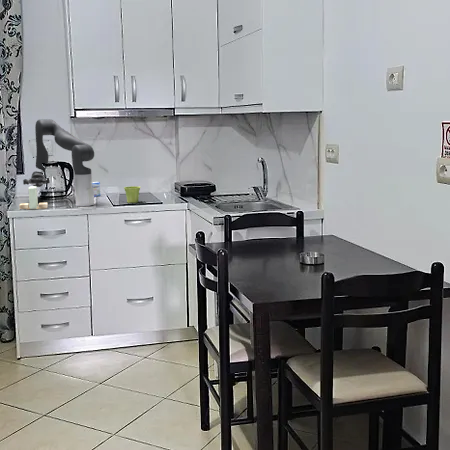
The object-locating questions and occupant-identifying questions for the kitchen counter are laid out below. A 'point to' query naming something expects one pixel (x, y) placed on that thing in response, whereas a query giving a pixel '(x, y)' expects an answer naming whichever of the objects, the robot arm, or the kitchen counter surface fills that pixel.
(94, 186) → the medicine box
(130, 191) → the plant pot
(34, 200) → the tall mint green pillar
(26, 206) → the slot board
